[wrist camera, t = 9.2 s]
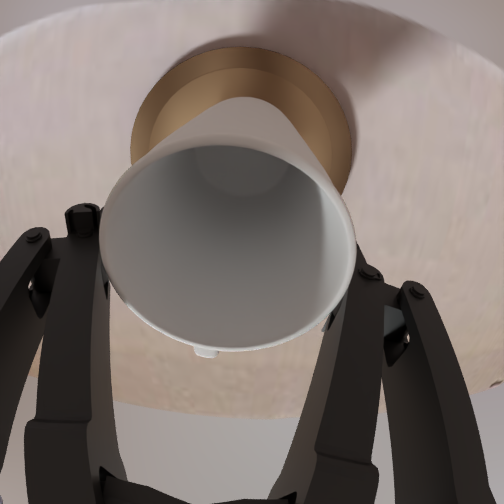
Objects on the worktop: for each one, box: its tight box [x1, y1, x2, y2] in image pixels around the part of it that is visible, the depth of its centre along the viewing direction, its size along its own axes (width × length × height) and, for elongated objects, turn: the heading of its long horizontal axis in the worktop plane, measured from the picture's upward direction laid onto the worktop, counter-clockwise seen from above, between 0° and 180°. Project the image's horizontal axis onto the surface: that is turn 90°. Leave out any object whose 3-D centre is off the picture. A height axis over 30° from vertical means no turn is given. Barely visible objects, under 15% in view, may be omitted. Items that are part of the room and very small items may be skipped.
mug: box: [99, 97, 357, 358], centre depth 13 cm, size 10×7×12 cm, turn 167°
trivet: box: [130, 47, 352, 195], centre depth 20 cm, size 16×16×1 cm
